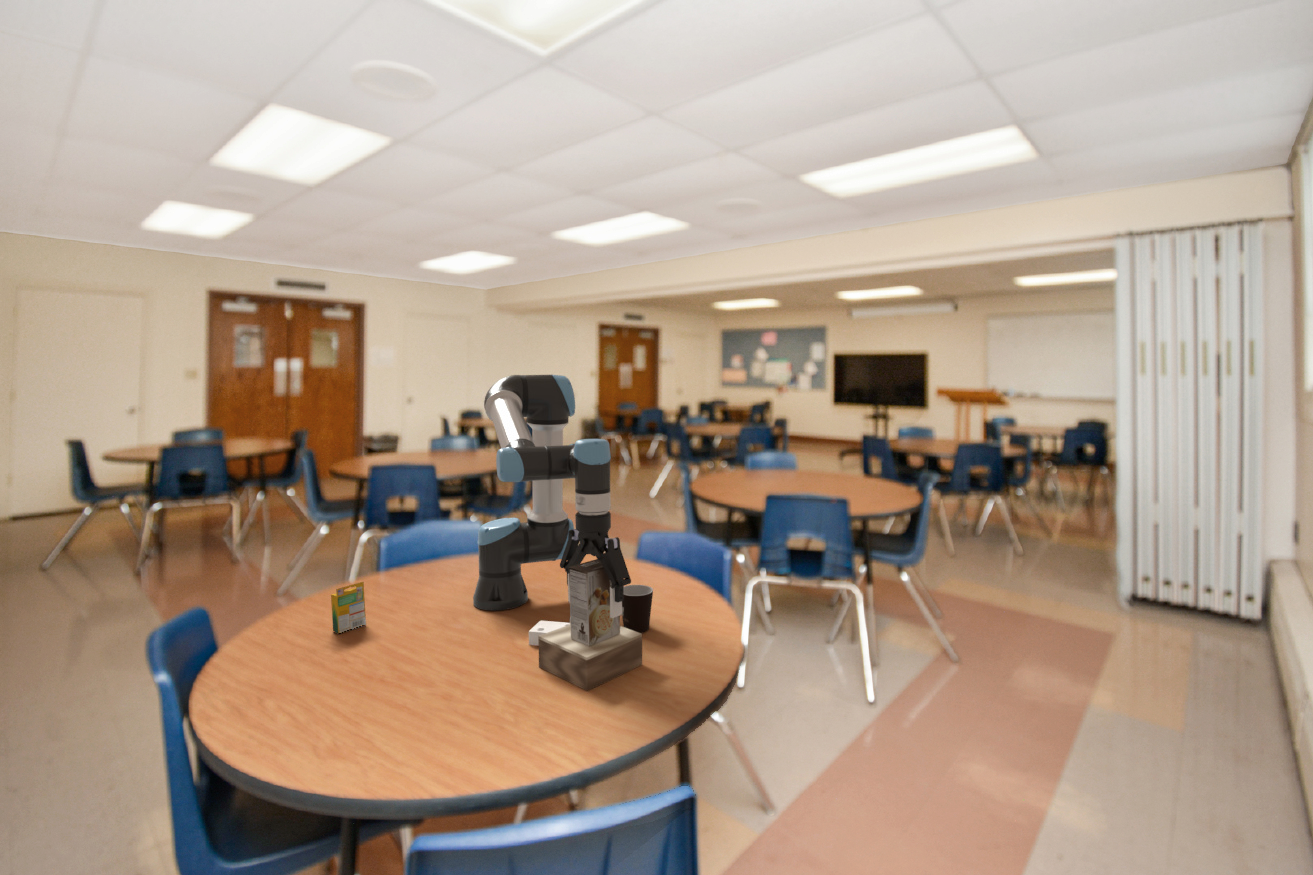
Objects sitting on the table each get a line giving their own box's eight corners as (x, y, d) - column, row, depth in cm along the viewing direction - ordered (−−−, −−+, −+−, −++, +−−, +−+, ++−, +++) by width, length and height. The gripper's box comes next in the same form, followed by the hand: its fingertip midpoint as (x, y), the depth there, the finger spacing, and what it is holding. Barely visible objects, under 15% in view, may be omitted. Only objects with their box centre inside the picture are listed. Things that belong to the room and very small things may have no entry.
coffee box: (601, 626, 140) (600, 557, 139) (620, 634, 136) (620, 562, 135) (569, 639, 133) (568, 566, 132) (589, 647, 129) (588, 572, 128)
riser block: (538, 667, 136) (538, 636, 135) (593, 644, 147) (593, 615, 147) (587, 690, 125) (586, 657, 124) (642, 664, 137) (641, 633, 136)
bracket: (590, 638, 152) (590, 608, 151) (580, 650, 145) (580, 619, 144) (540, 634, 155) (540, 604, 154) (528, 645, 148) (528, 614, 147)
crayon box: (360, 622, 162) (358, 579, 161) (366, 625, 160) (364, 581, 159) (332, 631, 156) (330, 586, 155) (338, 634, 154) (336, 589, 153)
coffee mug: (649, 636, 152) (649, 596, 151) (615, 633, 154) (615, 594, 153) (658, 619, 163) (658, 582, 162) (627, 616, 165) (626, 580, 164)
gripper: (543, 506, 138) (544, 599, 140) (621, 522, 121) (622, 628, 123) (569, 501, 143) (570, 591, 145) (647, 516, 127) (648, 617, 128)
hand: (594, 608), depth 134 cm, fingers open, 13 cm apart
